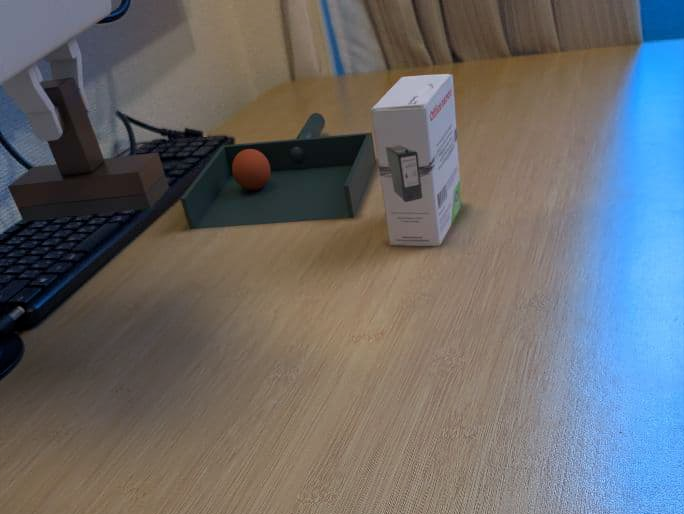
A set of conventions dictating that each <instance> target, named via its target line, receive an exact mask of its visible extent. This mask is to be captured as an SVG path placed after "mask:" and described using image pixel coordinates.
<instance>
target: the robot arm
mask: <svg viewBox="0 0 684 514" xmlns="http://www.w3.org/2000/svg"><path fill="white" fill-rule="evenodd" d="M111 13H112V0H0V87H2V89H3V91H4V92H5V93H6V94H7V96H8V97H9V98H10V99H11V100H12V101H13V102H14V103H15V104H16V106H17V107H18V108H19V109H20V111H22V112H23V113H24V114H25V115H26V117H27V119H28V122H29V125H30V127H31V129H32V132H33V135H34V136H35V137H36V139H37V140H39V141H40V142H47V141H52V140H57V139H59V138H60V137H61V136H62V135H63V134H65V133H66V132H67V130H68V125H67V122H66V120H65V119H64V114H63V111H62V108H61V106H60V104H55V105H53V104H52V102H51V101H50V99H49V97H48V96H47V94H46V93H45V91H44V90H43V88H42V87H41V85H40V83H41V82H43V81H44V79H43V75H42V72H41V70H40V67H39V65H38V62H40V61H41V60H44V62H45V63H48V62H49V66H50V72H51V77H52V80H56V79H64V78H71V77H73V78H74V79H75V82H76V84H77V87H78V90H79V93H80V95H81V98H82V101H83V103H84V106H85V109H86V112H87V114H88V115H89V113H90V112H91V106H90V103H89V100H88V97H87V95H86V92H85V89H84V76H83V75H84V74H83V61H82V53H81V49H80V46H79V43H78V41H77V38H76V37H77V36H79V35H80V34H82V33H84V32H85V31H87V30H88V29H90V28H91V27H93V26H94V25H96V24H97V23H99V22H100V21H102V20H104V19H105V18H106V17H108V16H109V15H111Z"/></svg>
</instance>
